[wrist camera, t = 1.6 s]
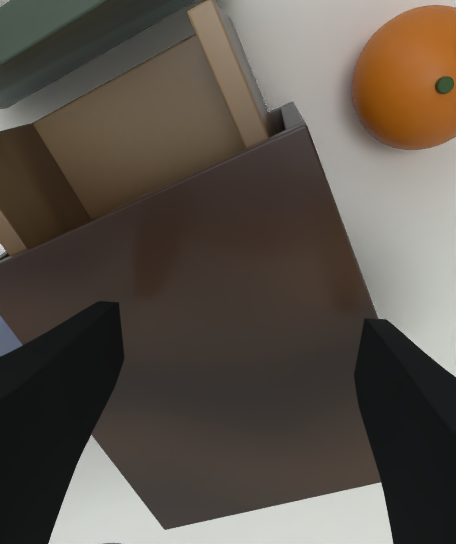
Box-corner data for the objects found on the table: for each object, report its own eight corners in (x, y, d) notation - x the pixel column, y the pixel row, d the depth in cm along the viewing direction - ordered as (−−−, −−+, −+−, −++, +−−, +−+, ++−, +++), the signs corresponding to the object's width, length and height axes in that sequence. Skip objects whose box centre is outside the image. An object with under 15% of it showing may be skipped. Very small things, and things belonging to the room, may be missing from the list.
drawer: (-88, -43, 17) (-264, -94, 11) (152, -221, 14) (76, -405, 9) (140, 323, 23) (100, 404, 18) (335, 252, 21) (359, 321, 15)
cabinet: (65, 208, 22) (-31, 276, 15) (292, 101, 19) (306, 123, 12) (191, 409, 27) (164, 530, 20) (386, 351, 24) (434, 471, 17)
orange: (325, 120, 19) (343, 138, 14) (372, -4, 17) (409, -29, 12) (428, 153, 19) (477, 181, 15) (486, 34, 17) (564, 24, 12)
